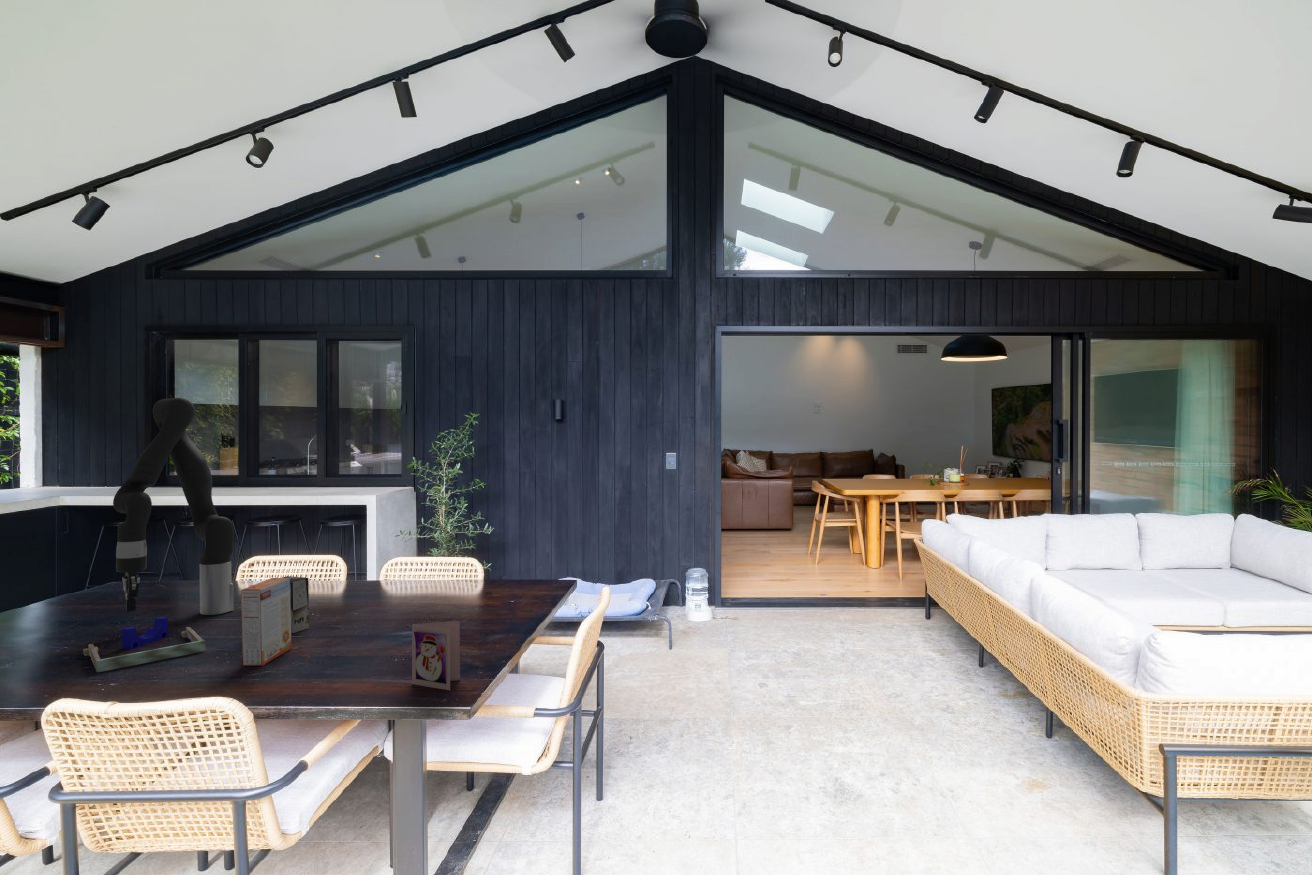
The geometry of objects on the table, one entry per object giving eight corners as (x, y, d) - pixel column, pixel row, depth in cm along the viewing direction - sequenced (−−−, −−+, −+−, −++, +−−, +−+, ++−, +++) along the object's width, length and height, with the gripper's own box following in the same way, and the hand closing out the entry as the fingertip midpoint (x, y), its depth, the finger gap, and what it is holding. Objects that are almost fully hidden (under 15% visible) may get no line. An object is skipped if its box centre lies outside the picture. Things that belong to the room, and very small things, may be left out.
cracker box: (271, 649, 195) (271, 577, 195) (292, 649, 195) (291, 577, 195) (240, 666, 181) (239, 588, 181) (262, 666, 181) (261, 588, 181)
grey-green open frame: (192, 633, 210) (192, 623, 210) (209, 650, 194) (209, 639, 194) (83, 653, 191) (83, 642, 191) (92, 673, 176) (91, 661, 176)
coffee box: (310, 627, 216) (309, 577, 215) (293, 633, 210) (292, 581, 209) (288, 625, 219) (287, 575, 218) (271, 630, 213) (270, 579, 212)
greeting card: (409, 685, 168) (409, 625, 168) (429, 674, 175) (429, 617, 175) (447, 691, 164) (447, 630, 164) (466, 680, 171) (466, 621, 170)
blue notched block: (155, 636, 208) (155, 616, 208) (168, 637, 207) (167, 617, 207) (117, 648, 196) (117, 628, 196) (131, 649, 195) (130, 629, 195)
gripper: (149, 556, 208) (149, 612, 208) (143, 551, 218) (142, 604, 218) (119, 559, 203) (118, 617, 203) (113, 553, 213) (112, 608, 212)
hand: (130, 610), depth 210 cm, fingers closed
